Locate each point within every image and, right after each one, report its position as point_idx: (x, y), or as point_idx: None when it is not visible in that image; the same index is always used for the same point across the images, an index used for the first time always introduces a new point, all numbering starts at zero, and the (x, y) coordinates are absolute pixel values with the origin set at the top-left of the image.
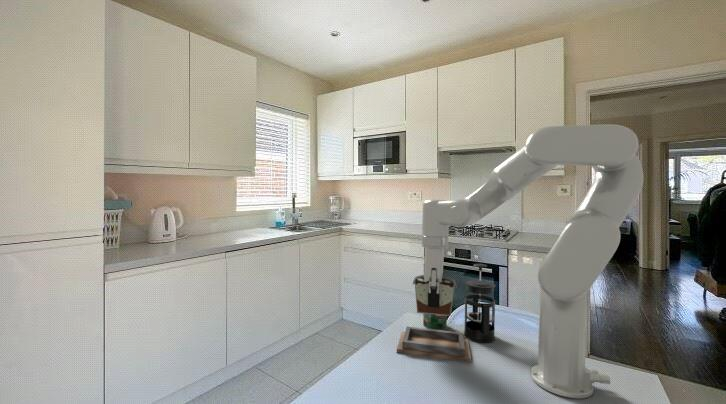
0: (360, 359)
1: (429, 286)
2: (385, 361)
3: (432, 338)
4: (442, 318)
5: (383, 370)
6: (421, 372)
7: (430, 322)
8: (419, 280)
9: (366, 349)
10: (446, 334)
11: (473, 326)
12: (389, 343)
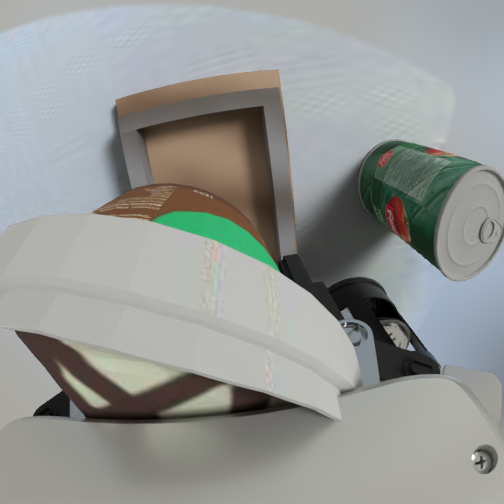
0: (44, 35)
1: (71, 411)
2: (56, 98)
3: (261, 197)
4: (389, 227)
5: (19, 119)
6: (55, 212)
7: (373, 176)
8: (71, 353)
9: (103, 11)
10: (279, 251)
11: (387, 303)
12: (176, 51)
